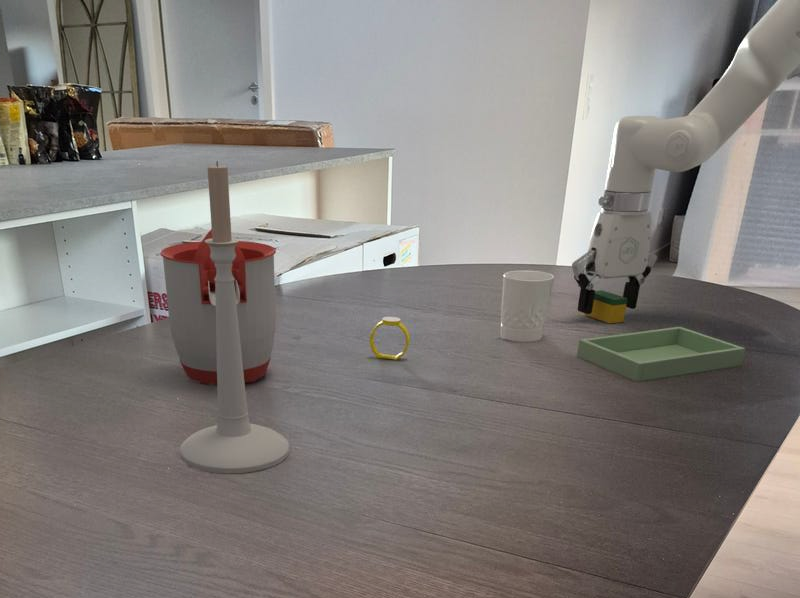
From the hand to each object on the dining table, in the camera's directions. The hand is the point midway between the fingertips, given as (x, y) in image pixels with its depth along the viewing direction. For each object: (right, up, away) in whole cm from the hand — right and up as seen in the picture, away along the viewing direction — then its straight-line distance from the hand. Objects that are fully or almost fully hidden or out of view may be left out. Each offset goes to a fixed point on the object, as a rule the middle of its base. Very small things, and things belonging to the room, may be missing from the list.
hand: (606, 309), depth 151 cm
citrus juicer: (-65, -21, -27) cm, 73 cm away
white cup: (-18, -9, -11) cm, 23 cm away
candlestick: (-61, -37, -51) cm, 88 cm away
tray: (0, -17, -22) cm, 28 cm away
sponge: (0, -1, +1) cm, 2 cm away
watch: (-41, -15, -20) cm, 48 cm away
